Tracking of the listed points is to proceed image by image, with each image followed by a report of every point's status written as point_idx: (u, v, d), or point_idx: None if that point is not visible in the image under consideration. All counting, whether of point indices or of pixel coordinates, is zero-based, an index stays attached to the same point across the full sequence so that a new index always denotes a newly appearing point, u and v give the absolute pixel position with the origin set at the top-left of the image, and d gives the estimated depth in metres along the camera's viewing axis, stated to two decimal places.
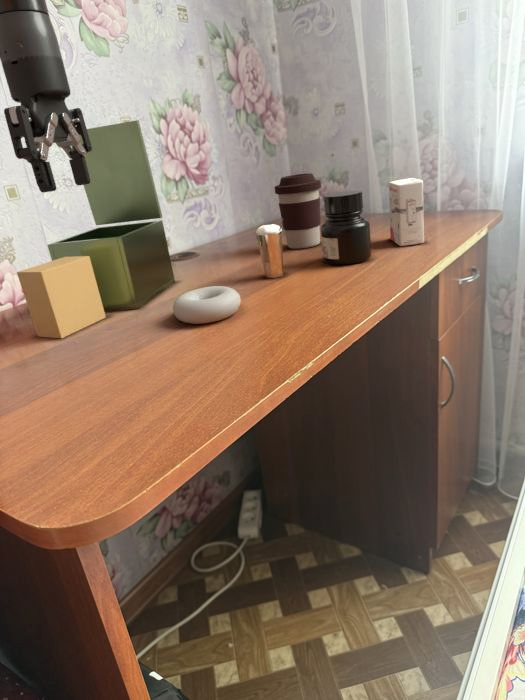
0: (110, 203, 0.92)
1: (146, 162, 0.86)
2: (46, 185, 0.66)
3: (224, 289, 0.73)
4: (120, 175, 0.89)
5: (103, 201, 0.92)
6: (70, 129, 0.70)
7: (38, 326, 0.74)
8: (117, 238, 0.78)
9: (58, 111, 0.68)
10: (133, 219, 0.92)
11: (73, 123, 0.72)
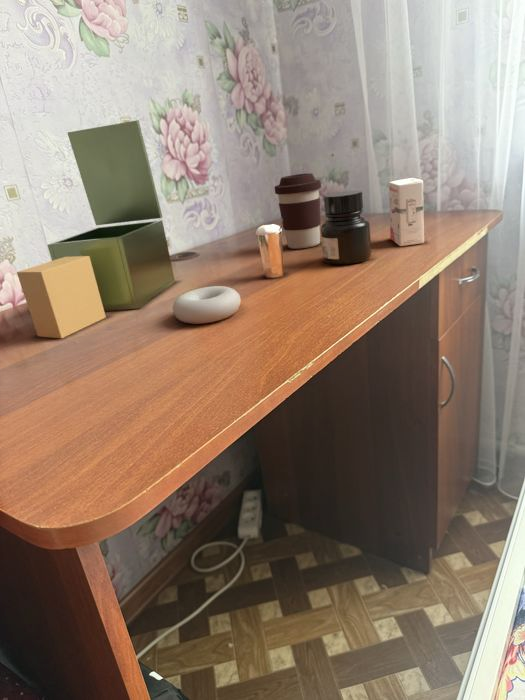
0: (110, 203, 0.92)
1: (146, 162, 0.86)
2: None
3: (224, 289, 0.73)
4: (120, 175, 0.89)
5: (103, 201, 0.92)
6: None
7: (38, 326, 0.74)
8: (117, 238, 0.78)
9: None
10: (133, 219, 0.92)
11: None
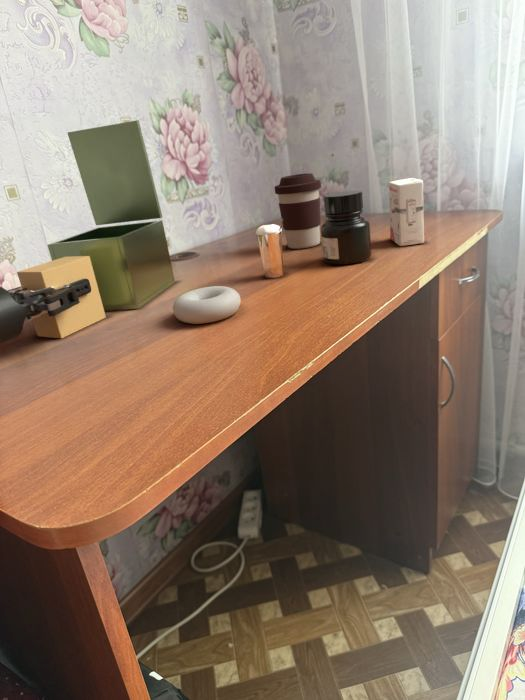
0: (110, 203, 0.92)
1: (146, 162, 0.86)
2: None
3: (224, 289, 0.73)
4: (120, 175, 0.89)
5: (103, 201, 0.92)
6: None
7: (38, 326, 0.74)
8: (117, 238, 0.78)
9: None
10: (133, 219, 0.92)
11: None
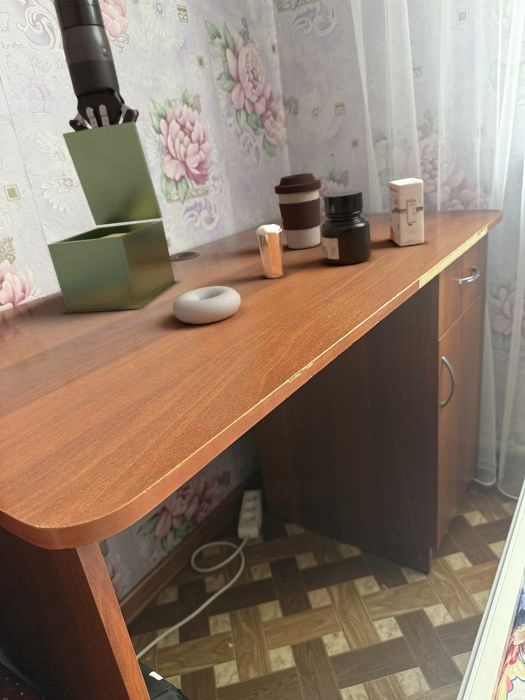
0: (109, 204, 0.91)
1: (144, 163, 0.86)
2: None
3: (224, 289, 0.73)
4: (118, 176, 0.88)
5: (102, 202, 0.91)
6: (103, 119, 0.85)
7: None
8: (117, 238, 0.78)
9: (103, 103, 0.84)
10: (133, 219, 0.92)
11: None
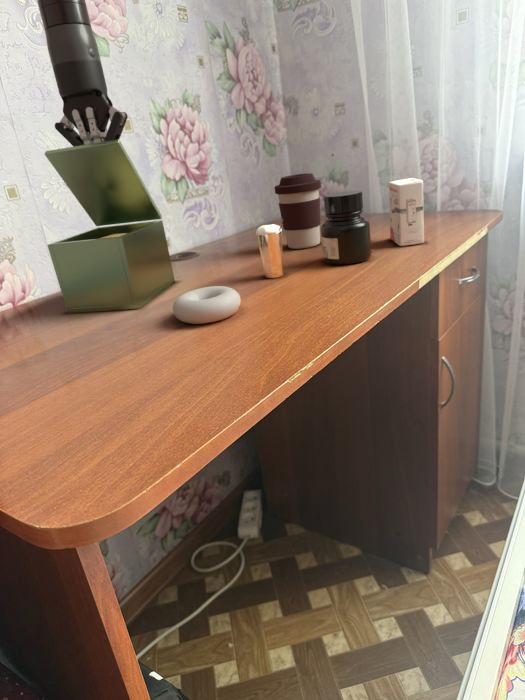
0: (106, 209, 0.90)
1: (136, 176, 0.83)
2: None
3: (224, 289, 0.73)
4: (111, 187, 0.86)
5: (99, 208, 0.90)
6: (90, 122, 0.81)
7: None
8: (117, 238, 0.78)
9: (89, 105, 0.80)
10: (133, 220, 0.92)
11: (110, 119, 0.81)
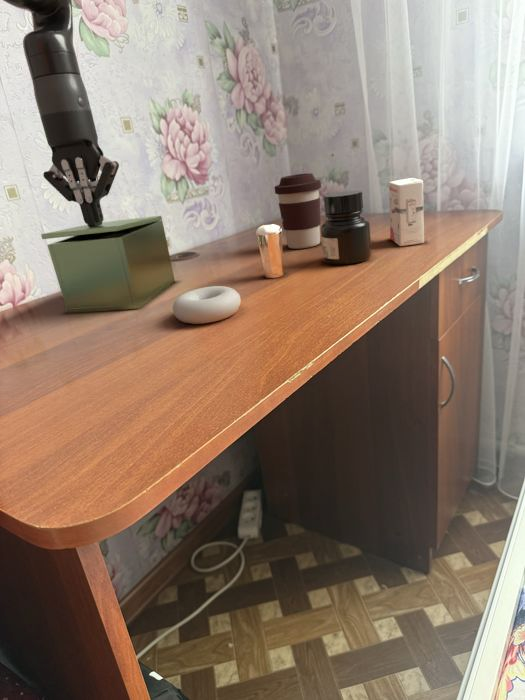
0: None
1: (136, 225, 0.82)
2: (85, 222, 0.82)
3: (224, 289, 0.73)
4: None
5: None
6: (80, 172, 0.78)
7: None
8: (117, 238, 0.78)
9: (79, 155, 0.77)
10: None
11: None
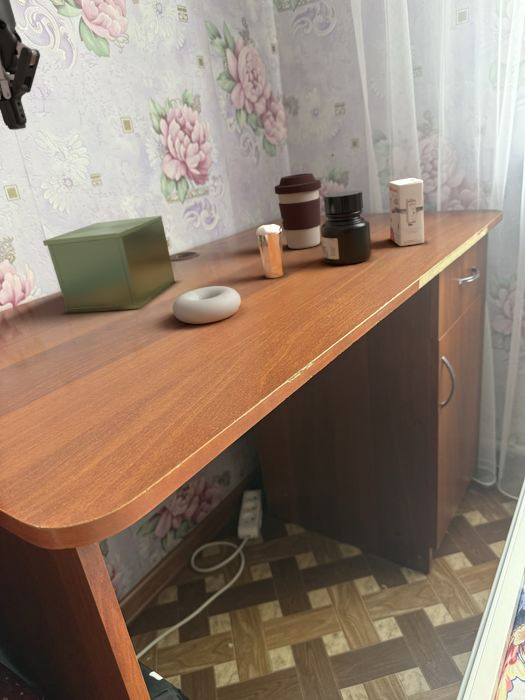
0: None
1: (137, 229, 0.83)
2: (6, 124, 0.73)
3: (224, 289, 0.73)
4: None
5: None
6: None
7: None
8: (117, 238, 0.78)
9: None
10: None
11: None
